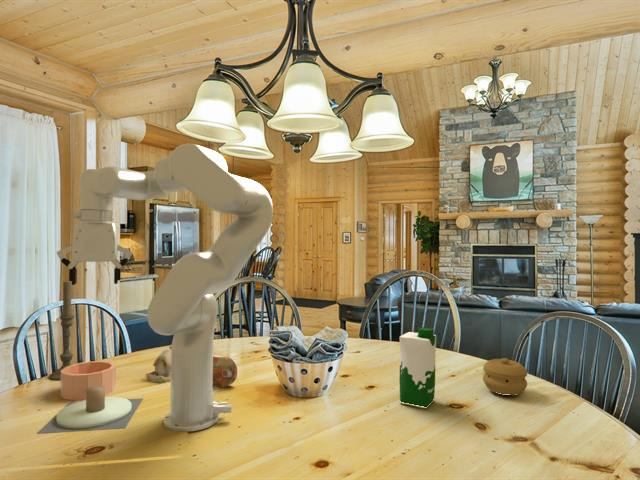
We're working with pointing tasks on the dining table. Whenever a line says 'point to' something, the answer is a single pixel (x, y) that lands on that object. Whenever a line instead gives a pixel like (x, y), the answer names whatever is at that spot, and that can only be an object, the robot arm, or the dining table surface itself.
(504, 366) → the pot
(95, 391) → the lid
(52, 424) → the mat
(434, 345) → the milk carton
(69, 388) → the bowl
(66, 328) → the candlestick holder
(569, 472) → the dining table surface
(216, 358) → the tin
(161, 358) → the ceramic model
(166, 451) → the dining table surface
